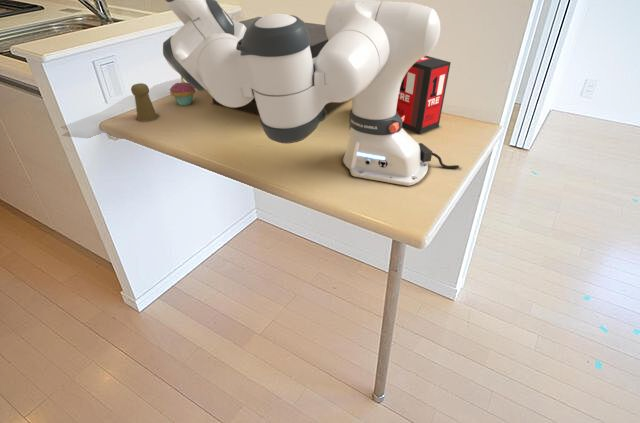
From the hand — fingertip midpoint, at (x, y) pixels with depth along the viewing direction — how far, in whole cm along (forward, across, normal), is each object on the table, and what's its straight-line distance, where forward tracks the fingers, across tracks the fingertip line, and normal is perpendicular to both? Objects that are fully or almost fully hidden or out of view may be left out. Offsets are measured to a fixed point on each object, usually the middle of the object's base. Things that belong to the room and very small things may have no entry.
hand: (242, 60), depth 121 cm
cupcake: (+14, -29, -13) cm, 35 cm away
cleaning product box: (+32, +46, +4) cm, 56 cm away
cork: (+2, -30, -25) cm, 39 cm away
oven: (+28, 0, +1) cm, 28 cm away
